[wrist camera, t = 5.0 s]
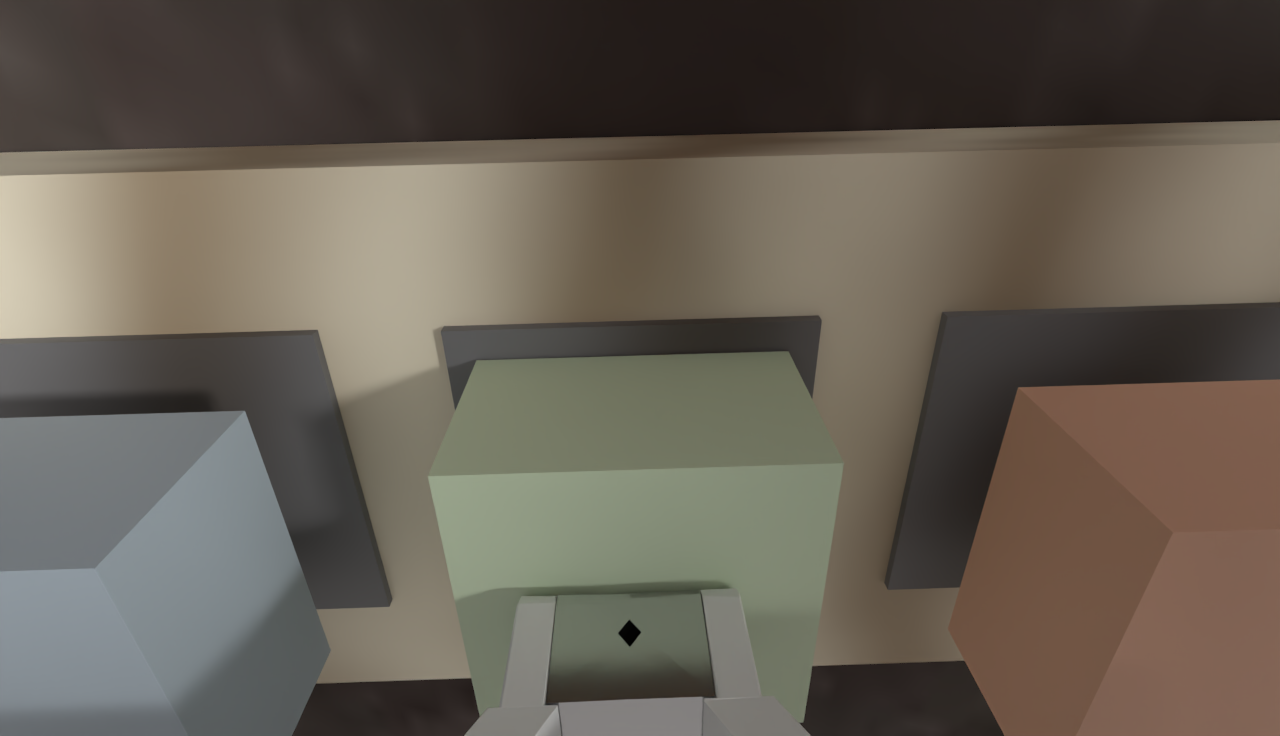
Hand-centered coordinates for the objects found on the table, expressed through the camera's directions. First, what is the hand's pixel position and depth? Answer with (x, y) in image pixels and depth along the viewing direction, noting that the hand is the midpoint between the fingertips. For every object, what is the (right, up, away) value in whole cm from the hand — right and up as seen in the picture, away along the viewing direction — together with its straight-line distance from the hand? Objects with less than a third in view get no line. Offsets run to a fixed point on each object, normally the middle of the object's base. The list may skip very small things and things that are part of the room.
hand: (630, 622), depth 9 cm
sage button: (0, +2, +3) cm, 3 cm away
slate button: (-8, +1, +1) cm, 8 cm away
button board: (0, +3, +5) cm, 5 cm away
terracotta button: (+8, +1, +2) cm, 8 cm away
